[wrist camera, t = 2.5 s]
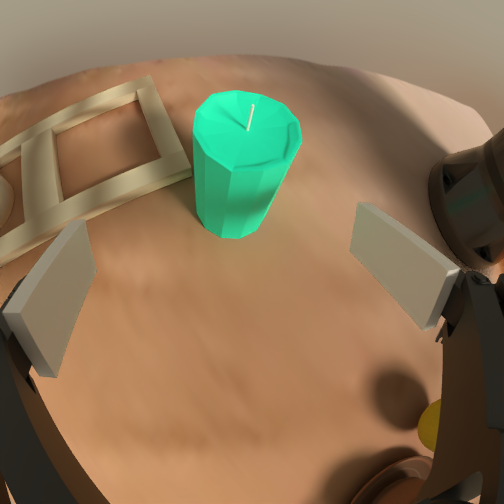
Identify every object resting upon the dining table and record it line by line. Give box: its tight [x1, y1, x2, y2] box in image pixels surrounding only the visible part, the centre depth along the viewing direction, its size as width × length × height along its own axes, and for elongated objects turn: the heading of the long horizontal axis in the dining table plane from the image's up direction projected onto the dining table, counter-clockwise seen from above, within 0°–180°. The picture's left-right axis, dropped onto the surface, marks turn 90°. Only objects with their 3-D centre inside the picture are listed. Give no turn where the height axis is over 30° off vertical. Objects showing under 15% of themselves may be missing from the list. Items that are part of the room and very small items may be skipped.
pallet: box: [0, 75, 192, 267], centre depth 22 cm, size 28×14×2 cm, turn 116°
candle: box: [193, 90, 302, 239], centre depth 19 cm, size 6×6×12 cm
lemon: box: [418, 399, 441, 452], centre depth 18 cm, size 6×6×8 cm
